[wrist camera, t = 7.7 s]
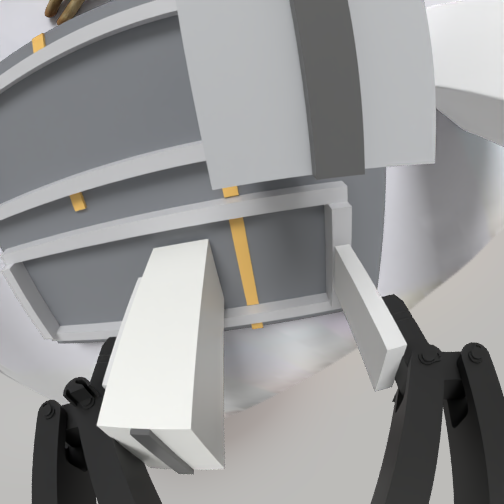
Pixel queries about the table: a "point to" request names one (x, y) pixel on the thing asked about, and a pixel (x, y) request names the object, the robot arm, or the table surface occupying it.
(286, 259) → the grey flat tray
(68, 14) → the figurine
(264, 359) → the table surface
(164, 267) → the block
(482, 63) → the milk
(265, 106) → the fader
